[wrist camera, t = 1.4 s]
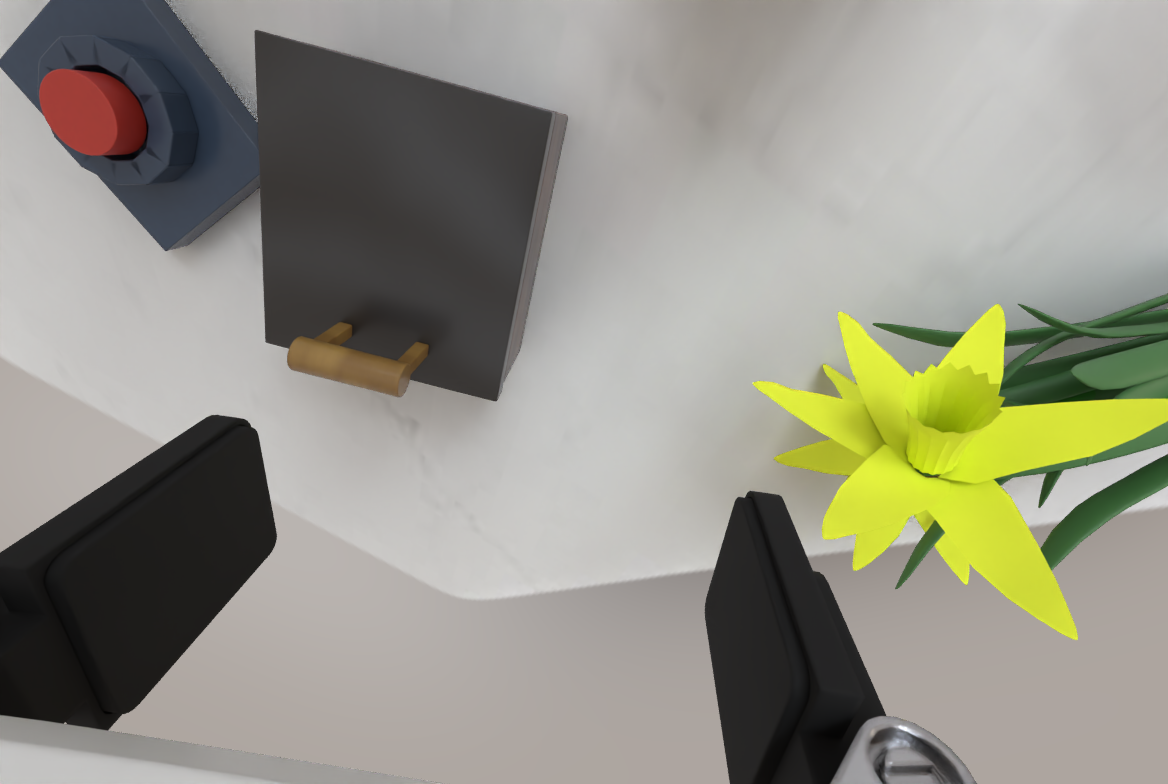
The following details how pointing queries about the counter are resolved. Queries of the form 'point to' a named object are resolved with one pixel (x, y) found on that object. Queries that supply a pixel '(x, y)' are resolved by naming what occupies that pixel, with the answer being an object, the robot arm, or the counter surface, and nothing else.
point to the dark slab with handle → (392, 219)
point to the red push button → (92, 112)
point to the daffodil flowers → (987, 442)
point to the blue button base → (150, 110)
